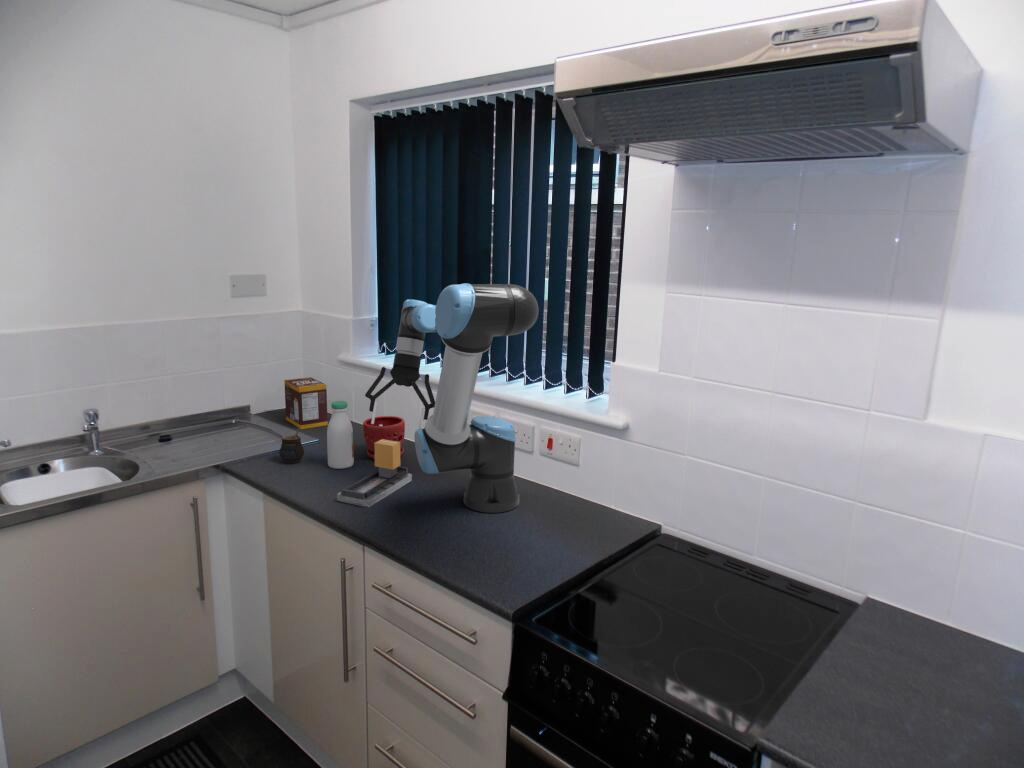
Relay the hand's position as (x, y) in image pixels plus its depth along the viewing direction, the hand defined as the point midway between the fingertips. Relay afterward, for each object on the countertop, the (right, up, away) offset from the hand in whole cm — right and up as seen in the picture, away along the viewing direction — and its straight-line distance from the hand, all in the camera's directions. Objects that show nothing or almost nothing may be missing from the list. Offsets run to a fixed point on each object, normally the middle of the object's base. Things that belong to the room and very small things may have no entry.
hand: (396, 427), depth 191 cm
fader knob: (-3, -14, +1) cm, 14 cm away
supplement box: (-44, -2, +59) cm, 73 cm away
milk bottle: (-20, -13, +15) cm, 28 cm away
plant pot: (-8, -11, +25) cm, 28 cm away
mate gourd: (-35, -12, +17) cm, 41 cm away
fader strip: (-5, -17, -4) cm, 18 cm away
